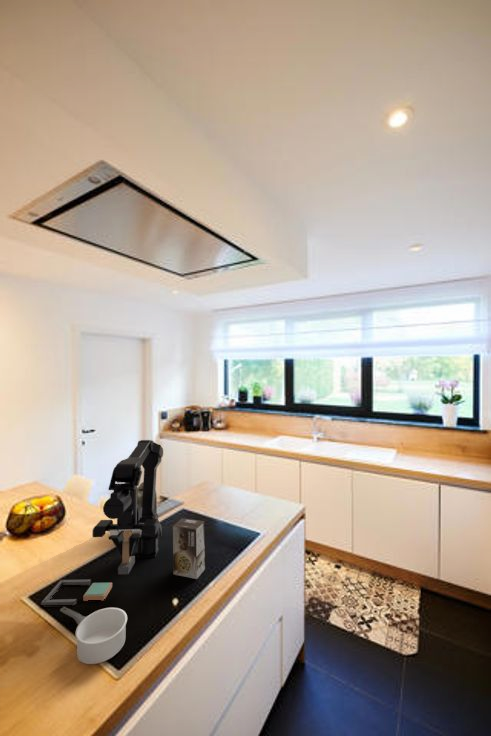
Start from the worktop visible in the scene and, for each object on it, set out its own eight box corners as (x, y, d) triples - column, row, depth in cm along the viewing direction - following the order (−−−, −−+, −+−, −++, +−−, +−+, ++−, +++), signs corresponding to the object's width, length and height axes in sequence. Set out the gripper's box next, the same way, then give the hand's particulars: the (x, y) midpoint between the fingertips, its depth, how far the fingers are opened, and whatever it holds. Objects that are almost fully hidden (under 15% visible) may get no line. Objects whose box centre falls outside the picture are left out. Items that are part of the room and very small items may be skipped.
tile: (112, 588, 99) (112, 581, 99) (103, 601, 93) (104, 595, 93) (92, 588, 99) (92, 582, 99) (83, 602, 93) (83, 595, 93)
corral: (90, 583, 100) (90, 579, 100) (74, 605, 90) (74, 601, 91) (60, 583, 100) (60, 580, 100) (41, 606, 90) (41, 602, 90)
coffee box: (205, 568, 108) (205, 520, 108) (196, 580, 102) (196, 529, 102) (182, 563, 111) (182, 517, 111) (172, 574, 105) (172, 525, 105)
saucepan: (81, 614, 87) (81, 593, 87) (137, 637, 79) (137, 615, 79) (39, 646, 77) (40, 623, 77) (99, 677, 69) (99, 651, 69)
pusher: (134, 562, 99) (134, 536, 100) (128, 574, 93) (128, 546, 94) (125, 562, 99) (125, 536, 99) (118, 574, 93) (118, 546, 93)
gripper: (163, 494, 105) (163, 541, 105) (107, 495, 105) (106, 542, 104) (155, 508, 94) (154, 561, 93) (91, 509, 93) (91, 562, 93)
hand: (126, 556), depth 96 cm, fingers closed on pusher, 2 cm apart
